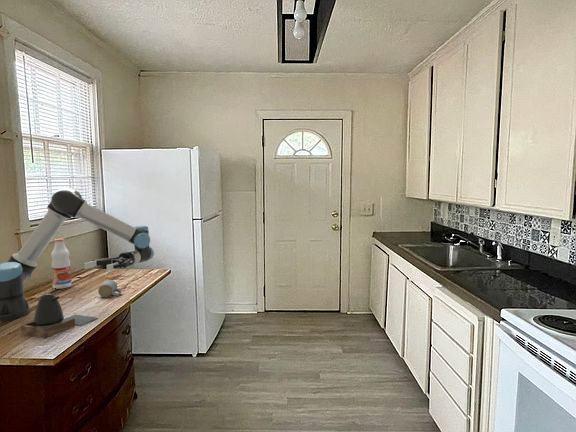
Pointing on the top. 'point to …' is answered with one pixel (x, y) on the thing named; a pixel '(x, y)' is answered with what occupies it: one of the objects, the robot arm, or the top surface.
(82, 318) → the grey mat
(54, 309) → the pump dispenser
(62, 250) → the fruit juice
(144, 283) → the top surface
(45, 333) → the walnut caddy
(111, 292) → the ceramic mug
